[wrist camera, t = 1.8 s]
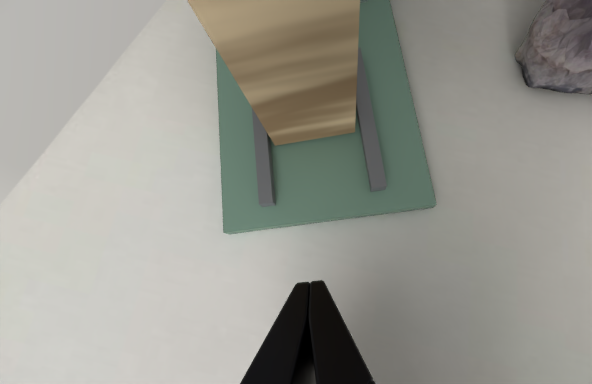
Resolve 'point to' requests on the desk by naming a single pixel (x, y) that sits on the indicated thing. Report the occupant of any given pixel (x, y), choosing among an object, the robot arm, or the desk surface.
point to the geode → (559, 47)
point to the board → (328, 148)
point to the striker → (290, 61)
